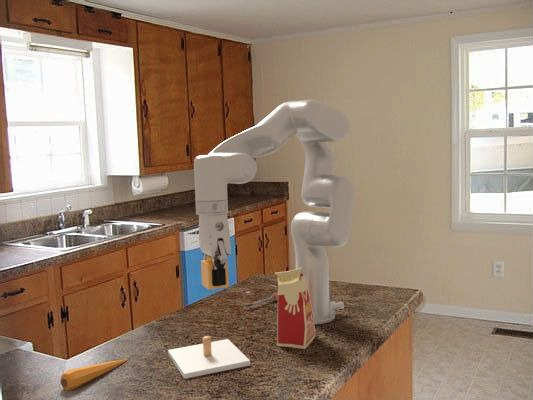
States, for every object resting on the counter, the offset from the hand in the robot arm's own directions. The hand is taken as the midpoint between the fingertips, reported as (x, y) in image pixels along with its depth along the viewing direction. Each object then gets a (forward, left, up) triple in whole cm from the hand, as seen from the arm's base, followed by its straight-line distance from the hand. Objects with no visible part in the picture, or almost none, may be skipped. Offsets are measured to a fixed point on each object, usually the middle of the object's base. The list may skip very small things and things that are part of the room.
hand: (215, 282), depth 135 cm
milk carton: (-22, -3, -20) cm, 30 cm away
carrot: (+27, -6, -20) cm, 35 cm away
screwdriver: (-31, -38, -20) cm, 53 cm away
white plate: (+2, -2, -20) cm, 20 cm away
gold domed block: (0, 0, -1) cm, 1 cm away
